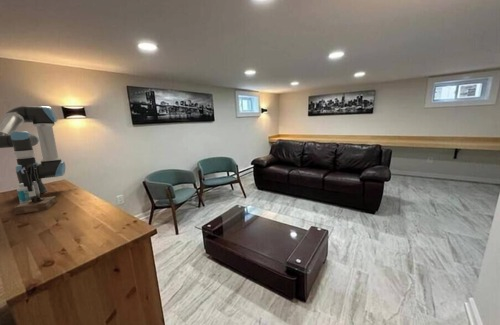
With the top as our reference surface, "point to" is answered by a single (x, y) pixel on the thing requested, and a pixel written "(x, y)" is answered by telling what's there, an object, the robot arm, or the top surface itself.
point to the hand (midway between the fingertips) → (34, 194)
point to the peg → (37, 197)
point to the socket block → (35, 205)
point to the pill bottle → (23, 193)
